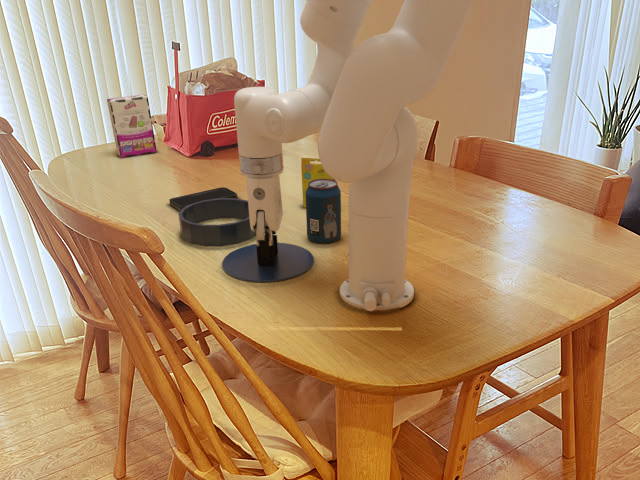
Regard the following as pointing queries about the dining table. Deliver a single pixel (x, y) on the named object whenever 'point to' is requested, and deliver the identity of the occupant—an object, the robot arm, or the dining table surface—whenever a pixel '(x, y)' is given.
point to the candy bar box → (132, 125)
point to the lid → (286, 266)
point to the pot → (216, 233)
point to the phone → (201, 197)
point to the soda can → (323, 211)
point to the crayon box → (311, 174)
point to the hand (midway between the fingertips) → (268, 259)
